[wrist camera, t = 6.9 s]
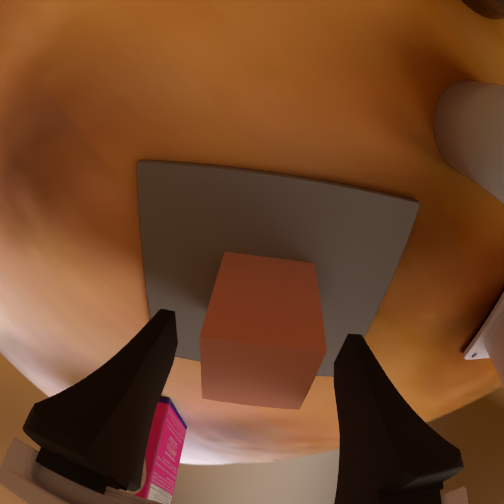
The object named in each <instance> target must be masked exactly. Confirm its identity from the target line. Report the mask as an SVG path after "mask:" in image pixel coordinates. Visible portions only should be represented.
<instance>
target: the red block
mask: <svg viewBox="0 0 504 504" xmlns="http://www.w3.org/2000/svg"><path fill="white" fill-rule="evenodd" d="M326 352H327V347H326V339H325V331H324V323H323V316H322V309H321V302H320V295H319V288H318V281H317V275H316V269H315V263H308V262H301V261H293V260H285V259H278V258H270V257H262V256H255V255H247V254H239V253H232V252H224V255H223V259H222V262H221V265H220V269H219V272H218V275H217V279H216V282H215V285H214V289H213V292H212V296H211V299H210V302H209V306H208V309H207V313H206V316H205V320H204V323H203V327H202V330H201V334H200V357H201V379H202V397H203V398H204V399H209V400H216V401H222V402H229V403H236V404H244V405H252V406H261V407H272V408H284V409H300V407H301V405H302V403H303V401H304V399H305V397H306V395H307V393H308V391H309V389H310V387H311V385H312V383H313V381H314V379H315V376H316V374H317V372H318V370H319V368H320V366H321V363H322V361H323V359H324V357H325V354H326Z"/></svg>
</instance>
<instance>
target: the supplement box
mask: <svg viewBox="0 0 504 504" xmlns="http://www.w3.org/2000/svg"><path fill="white" fill-rule="evenodd" d="M186 429H187V426H186V425H185V423H184V421H183V420H182V418H181V417H180V415H179V413H178V412H177V410H176V408H175V406H174V405H173V403H172V401H171V399H170V398H165V397H160V399H159V402H158V404H157V407H156V410H155V413H154V417H153V421H152V426H151V430H150V434H149V439H148V444H147V449H146V454H145V460H144V466H143V472H142V480H141V488H140V489H139V490H137V491H135V492H132V491H129V490H127V491H125V490H122V489H119V490H120V491H123V492H126V493H129V494H132V495H135V496H138V497H142V498H145V499H148V500H152V501H156V502H159V503H163V504H171V501H172V496H173V491H174V487H175V481H176V476H177V471H178V466H179V462H180V457H181V452H182V448H183V443H184V438H185V434H186Z"/></svg>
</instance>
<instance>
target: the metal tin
mask: <svg viewBox="0 0 504 504" xmlns="http://www.w3.org/2000/svg"><path fill="white" fill-rule="evenodd" d="M462 1H463V2H464V3H465V4H466V5H467V6H468V7H469V8H471V9H472V10H473V11H475V12H476V13H478V14H480V15H482V16H484V17H486V18H489V19H504V0H462Z"/></svg>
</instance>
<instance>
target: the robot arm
mask: <svg viewBox="0 0 504 504" xmlns="http://www.w3.org/2000/svg"><path fill="white" fill-rule="evenodd" d="M177 345H178V338H177V328H176V316H175V311H172V310H166V309H160V310H159V311H158V312H157V313H156V314H155V315H154V316H153V317H152V318H151V320H150V321H149V322H148V323H147V324H146V325H145V326H144V327H143V328H142V329H141V330H140V332H139V333H138V334H137V335H136V336H135V337H134V338H133V339H132V340H131V341H130V342H129V343H128V344H127V345H126V346H124V347H123V348H122V349H121V350H120V351H119V352H118V353H117V354H116V355H115V356H113V357H112V358H111V359H110V360H109V361H108V362H106V363H105V364H104V365H102V366H101V367H100V368H99V369H97V370H96V371H94V372H93V373H92V374H90V375H89V376H87V377H86V378H84V379H83V380H81V381H80V382H78V383H76V384H75V385H73V386H71V387H69V388H67V389H66V390H64V391H62V392H60V393H58V394H56V395H54V396H52V397H49V398H47V399H45V400H43V401H40V402H38V403H35V404H34V406H33V408H32V409H31V411H30V413H29V415H28V417H27V419H26V421H25V424H24V426H23V431H24V432H25V433H26V434H27V435H28V436H29V437H30V438H31V439H32V440H33V441H34V442H36V443H37V444H38V445H39V446H40V447H41V449H40V451H39V452H38V451H37V450H35V449H34V448H32V447H30V446H29V445H27V444H25V443H24V442H22V441H20V440H19V439H17V438H16V437H13V438H12V440H11V443H10V445H9V447H8V449H7V452H6V454H5V456H4V459H3V461H2V463H1V466H0V484H1V485H2V486H4V487H5V488H7V489H8V490H9V491H11V492H12V493H13V494H15V495H16V496H18V497H19V498H20V499H22V500H23V501H25V502H26V503H28V504H163V503H159V502H156V501H152V500H148V499H145V498H142V497H138V496H135V495H132V494H129V493H126V492H123V491H120V490H119V489H122V490H125V491H127V490H129V491H132V492H135V491H137V490H139V489H140V488H141V480H142V472H143V466H144V460H145V454H146V449H147V444H148V439H149V434H150V430H151V426H152V421H153V417H154V413H155V410H156V407H157V404H158V402H159V399H160V396H161V394H162V391H163V388H164V386H165V383H166V381H167V378H168V375H169V373H170V370H171V367H172V365H173V361H174V357H175V353H176V349H177ZM463 357H464V359H466V360H468V359H481V358H490V359H491V361H492V363H493V365H494V367H495V369H496V372H497V374H498V376H499V378H500V380H501V383H502V385H503V387H504V292H503V294H502V295H501V297H500V299H499V300H498V302H497V304H496V305H495V307H494V309H493V310H492V312H491V314H490V315H489V317H488V318H487V320H486V321H485V323H484V324H483V326H482V327H481V329H480V330H479V332H478V333H477V335H476V336H475V337H474V339H473V340H472V342H471V343H470V344H469V346H468V347H467V348H466V350H465V351H464V353H463ZM334 389H335V397H336V405H337V412H338V420H339V430H340V456H339V473H338V482H337V490H336V497H335V503H334V504H468V500H467V493H466V487H461V488H458V489H456V490H453V491H450V492H447V493H445V494H442V495H440V490H442V489H443V481H445V480H447V479H449V478H451V477H452V476H454V475H456V474H457V473H459V472H460V471H461V470H462V469H463V467H464V466H463V461H462V457H461V453H460V450H459V449H457V448H456V447H455V446H453V445H452V444H451V443H449V442H448V441H446V440H445V439H444V438H442V437H441V436H440V435H439V434H437V433H436V432H435V431H434V430H433V429H432V428H431V427H429V426H428V425H427V424H426V423H425V422H424V421H423V420H422V419H421V418H420V417H419V416H418V415H417V414H416V412H415V411H414V410H413V409H412V408H411V407H410V406H409V404H408V403H407V402H406V401H405V400H404V399H403V397H402V396H401V395H400V393H399V392H398V391H397V389H396V388H395V387H394V385H393V384H392V382H391V381H390V380H389V378H388V377H387V375H386V373H385V372H384V370H383V369H382V367H381V366H380V364H379V363H378V361H377V359H376V358H375V356H374V354H373V353H372V351H371V350H370V348H369V346H368V345H367V343H366V341H365V340H364V338H363V337H362V335H361V334H348V335H347V337H346V339H345V341H344V343H343V345H342V347H341V349H340V351H339V353H338V355H337V357H336V359H335V361H334Z"/></svg>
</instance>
